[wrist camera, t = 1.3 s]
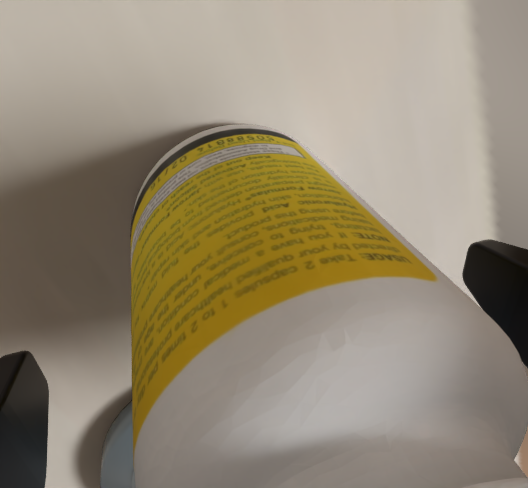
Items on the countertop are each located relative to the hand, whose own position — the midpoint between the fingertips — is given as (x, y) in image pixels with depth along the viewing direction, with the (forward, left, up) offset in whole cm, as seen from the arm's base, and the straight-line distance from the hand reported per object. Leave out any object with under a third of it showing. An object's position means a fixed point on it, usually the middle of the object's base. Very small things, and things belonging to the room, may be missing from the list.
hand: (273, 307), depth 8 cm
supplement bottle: (0, 0, -4) cm, 4 cm away
